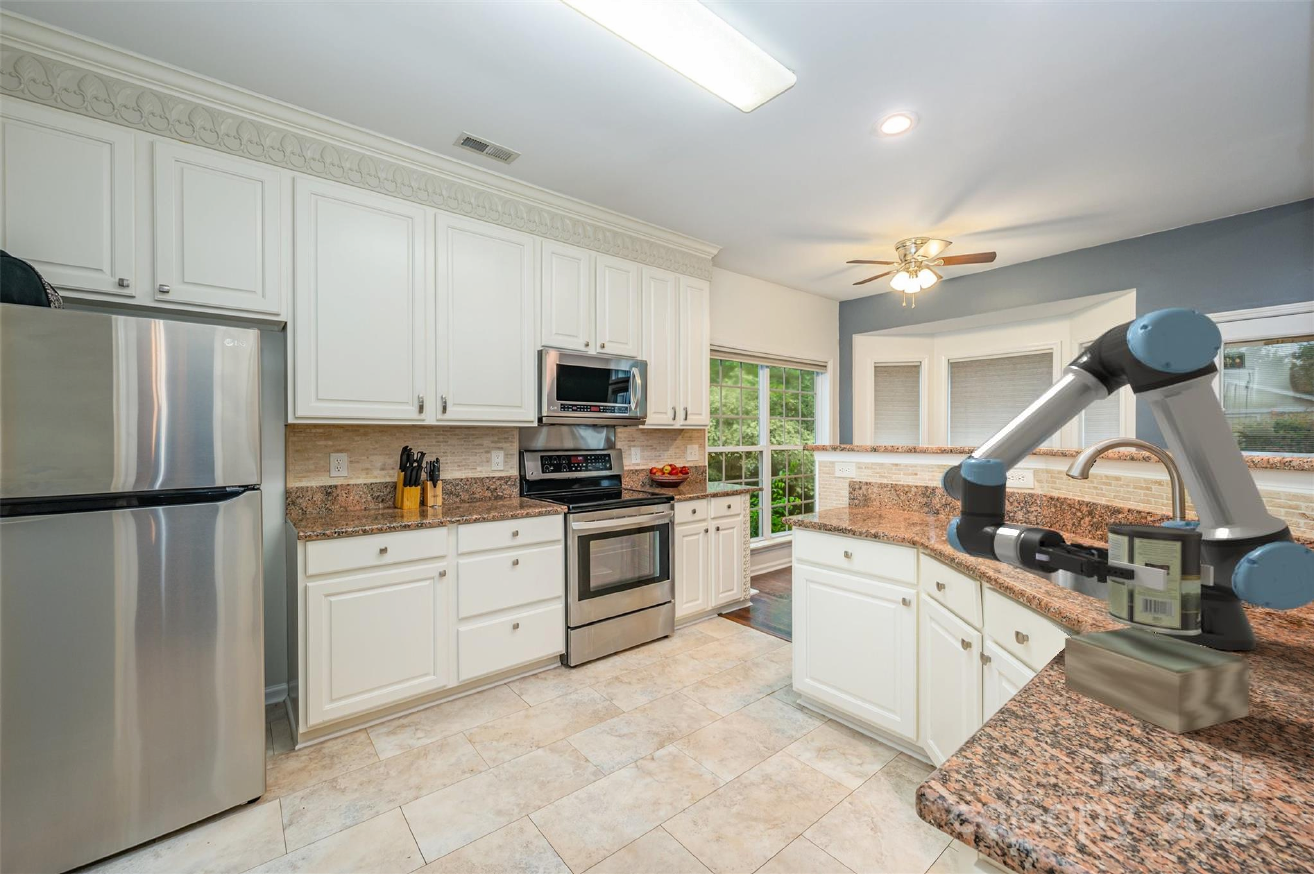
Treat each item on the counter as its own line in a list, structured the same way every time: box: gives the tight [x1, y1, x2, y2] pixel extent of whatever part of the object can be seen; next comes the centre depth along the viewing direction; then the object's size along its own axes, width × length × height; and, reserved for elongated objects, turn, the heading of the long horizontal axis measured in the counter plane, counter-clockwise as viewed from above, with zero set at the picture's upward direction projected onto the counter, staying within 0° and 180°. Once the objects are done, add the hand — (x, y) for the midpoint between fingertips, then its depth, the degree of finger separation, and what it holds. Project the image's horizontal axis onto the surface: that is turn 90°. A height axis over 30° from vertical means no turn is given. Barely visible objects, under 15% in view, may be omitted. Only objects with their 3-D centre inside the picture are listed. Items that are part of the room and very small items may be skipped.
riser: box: [1064, 626, 1250, 735], centre depth 79 cm, size 16×14×8 cm
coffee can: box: [1107, 523, 1202, 635], centre depth 79 cm, size 10×10×14 cm
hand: (1189, 578), depth 75 cm, fingers closed on coffee can, 10 cm apart
